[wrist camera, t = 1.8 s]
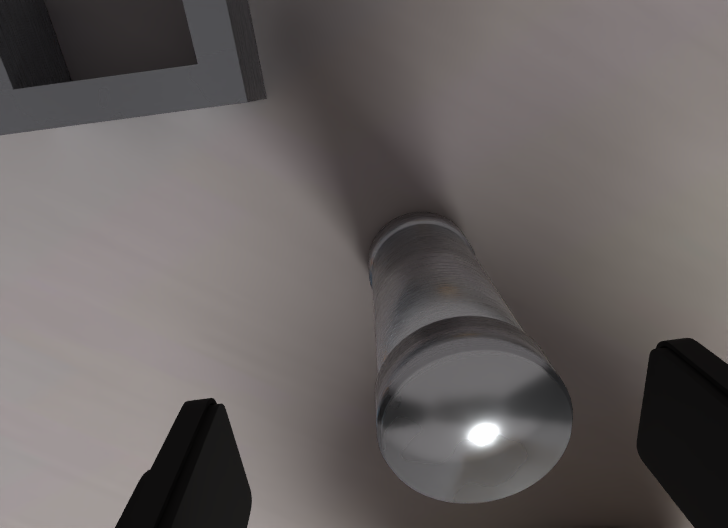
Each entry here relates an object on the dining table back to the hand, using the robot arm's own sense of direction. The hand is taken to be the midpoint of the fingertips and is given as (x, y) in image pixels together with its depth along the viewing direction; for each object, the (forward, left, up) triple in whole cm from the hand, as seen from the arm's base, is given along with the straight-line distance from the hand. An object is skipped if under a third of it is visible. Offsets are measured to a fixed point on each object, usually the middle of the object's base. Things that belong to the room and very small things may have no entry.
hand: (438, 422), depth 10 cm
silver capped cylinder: (-1, 0, -10) cm, 10 cm away
